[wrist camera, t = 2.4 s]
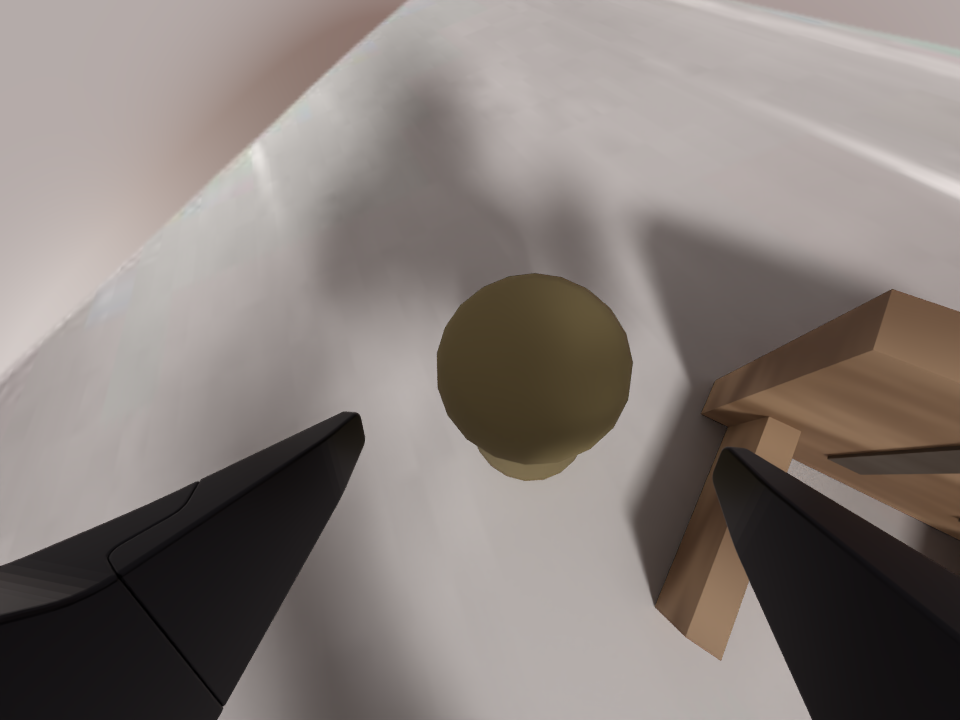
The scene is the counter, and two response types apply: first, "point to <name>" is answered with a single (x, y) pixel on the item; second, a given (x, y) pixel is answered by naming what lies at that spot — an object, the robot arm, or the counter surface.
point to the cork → (533, 373)
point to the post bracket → (831, 438)
